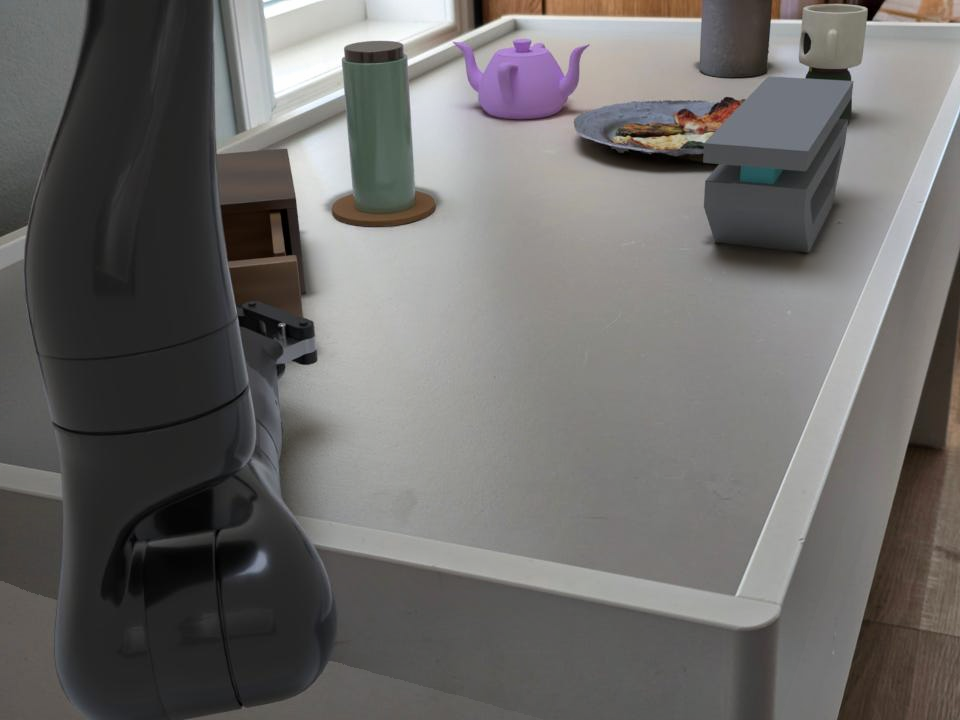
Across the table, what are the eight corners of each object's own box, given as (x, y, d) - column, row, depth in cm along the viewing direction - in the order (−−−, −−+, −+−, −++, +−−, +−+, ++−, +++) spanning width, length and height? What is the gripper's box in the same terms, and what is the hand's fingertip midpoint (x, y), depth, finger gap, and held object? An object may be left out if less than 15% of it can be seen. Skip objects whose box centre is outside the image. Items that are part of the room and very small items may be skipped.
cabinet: (307, 302, 89) (295, 197, 85) (143, 319, 87) (124, 213, 83) (297, 241, 102) (287, 148, 98) (154, 254, 100) (138, 160, 96)
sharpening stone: (794, 286, 89) (808, 151, 84) (696, 274, 92) (704, 143, 87) (840, 194, 109) (853, 81, 104) (759, 186, 112) (768, 76, 107)
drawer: (310, 377, 75) (300, 282, 72) (134, 397, 73) (116, 301, 70) (296, 281, 91) (287, 200, 88) (151, 296, 89) (137, 214, 86)
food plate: (773, 114, 138) (776, 86, 136) (821, 169, 117) (824, 135, 115) (568, 120, 138) (569, 91, 137) (579, 175, 118) (580, 141, 116)
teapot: (590, 114, 141) (591, 42, 137) (486, 127, 137) (484, 53, 133) (552, 95, 151) (552, 27, 147) (454, 106, 147) (451, 37, 143)
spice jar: (370, 218, 105) (358, 55, 99) (343, 202, 110) (329, 45, 103) (427, 206, 108) (418, 46, 101) (398, 190, 113) (388, 37, 106)
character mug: (795, 109, 140) (805, 0, 134) (855, 111, 138) (868, 1, 132) (790, 131, 131) (800, 15, 125) (854, 133, 129) (868, 16, 123)
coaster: (336, 231, 104) (336, 225, 104) (328, 199, 113) (327, 193, 113) (443, 221, 106) (442, 214, 105) (426, 190, 115) (426, 184, 114)
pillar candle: (778, 68, 162) (787, -42, 155) (748, 81, 155) (756, -34, 148) (717, 61, 167) (723, -45, 160) (685, 73, 160) (690, -37, 154)
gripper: (328, 342, 58) (308, 232, 73) (60, 371, 56) (97, 252, 71) (341, 467, 61) (319, 337, 76) (88, 500, 59) (118, 359, 74)
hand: (212, 296), depth 74 cm, fingers closed
